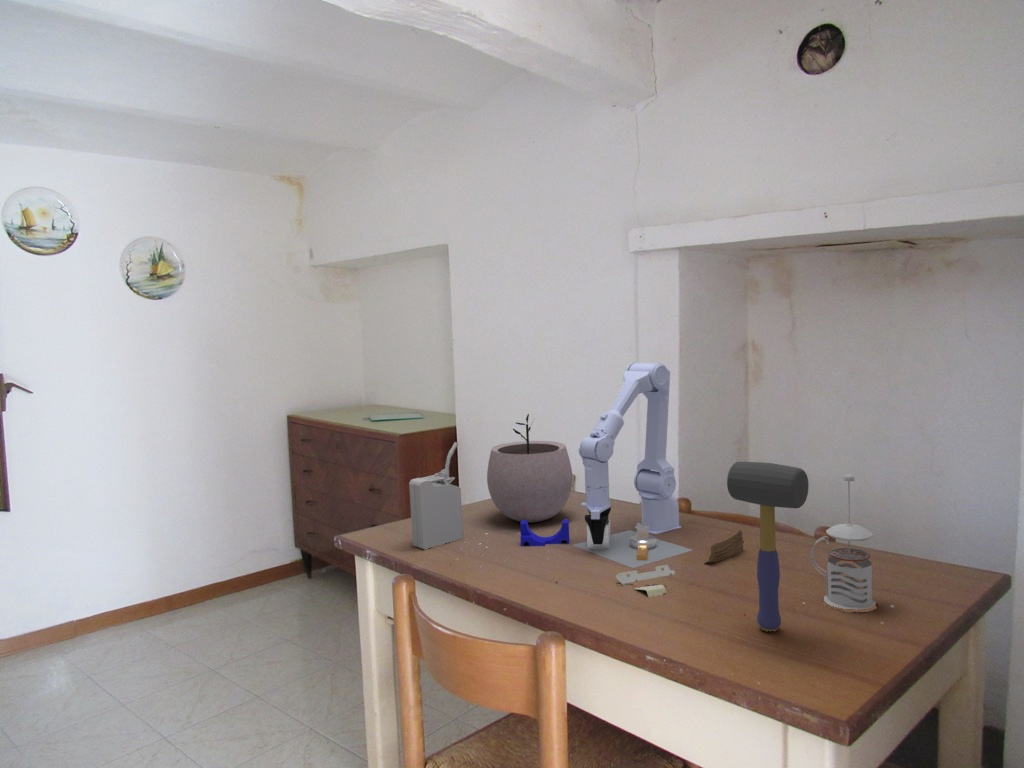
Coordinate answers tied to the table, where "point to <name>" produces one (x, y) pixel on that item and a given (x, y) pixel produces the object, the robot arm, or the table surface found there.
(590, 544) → the brushed metal cube
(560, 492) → the plant pot
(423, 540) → the jerry can
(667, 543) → the mat
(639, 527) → the scoop
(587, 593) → the table surface
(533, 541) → the cable clip
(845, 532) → the french press
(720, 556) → the wood plank
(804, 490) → the rubber mallet
